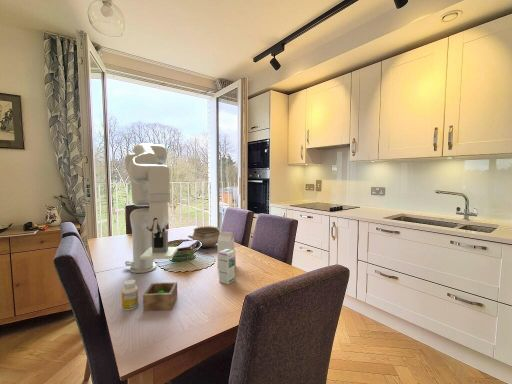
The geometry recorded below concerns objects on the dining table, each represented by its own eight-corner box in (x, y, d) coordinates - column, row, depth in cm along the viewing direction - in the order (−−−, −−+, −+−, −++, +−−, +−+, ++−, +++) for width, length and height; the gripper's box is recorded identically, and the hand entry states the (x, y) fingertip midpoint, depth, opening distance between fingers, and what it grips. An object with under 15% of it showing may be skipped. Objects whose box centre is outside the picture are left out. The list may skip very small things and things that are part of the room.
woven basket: (220, 241, 182) (220, 225, 181) (228, 248, 165) (228, 230, 164) (185, 245, 172) (185, 227, 171) (190, 253, 155) (190, 234, 154)
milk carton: (230, 269, 129) (230, 234, 128) (217, 268, 130) (217, 233, 129) (234, 264, 136) (234, 230, 134) (221, 263, 137) (221, 230, 136)
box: (143, 311, 90) (142, 295, 89) (152, 297, 100) (151, 282, 99) (171, 309, 91) (171, 294, 90) (177, 296, 101) (177, 282, 100)
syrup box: (228, 284, 111) (228, 253, 110) (218, 281, 115) (218, 251, 113) (235, 280, 116) (236, 250, 115) (226, 277, 119) (226, 248, 118)
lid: (139, 259, 88) (139, 235, 87) (150, 249, 99) (149, 228, 98) (171, 258, 89) (171, 235, 88) (178, 249, 100) (178, 228, 99)
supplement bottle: (126, 303, 95) (125, 279, 94) (140, 303, 95) (140, 278, 94) (119, 311, 89) (118, 285, 89) (135, 310, 90) (134, 285, 89)
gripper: (155, 195, 100) (156, 240, 101) (140, 200, 84) (142, 253, 85) (174, 195, 100) (175, 240, 102) (163, 200, 84) (164, 253, 86)
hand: (160, 245), depth 94 cm, fingers closed on lid, 3 cm apart
